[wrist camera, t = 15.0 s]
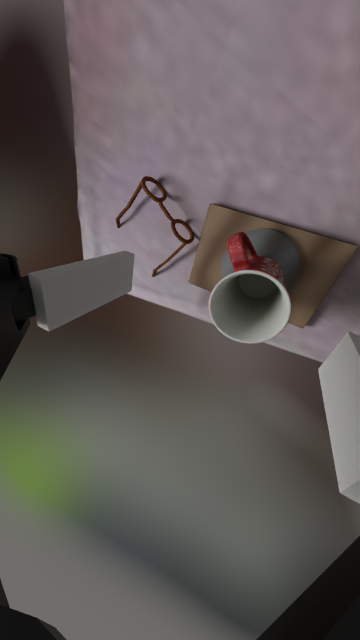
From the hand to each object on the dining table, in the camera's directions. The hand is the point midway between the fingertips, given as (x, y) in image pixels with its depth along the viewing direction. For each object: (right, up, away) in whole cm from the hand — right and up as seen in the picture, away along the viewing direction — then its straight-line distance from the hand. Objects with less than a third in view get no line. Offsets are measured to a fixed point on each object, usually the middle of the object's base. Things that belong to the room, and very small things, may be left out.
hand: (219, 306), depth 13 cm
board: (+11, +8, +23) cm, 27 cm away
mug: (+10, +8, +21) cm, 25 cm away
